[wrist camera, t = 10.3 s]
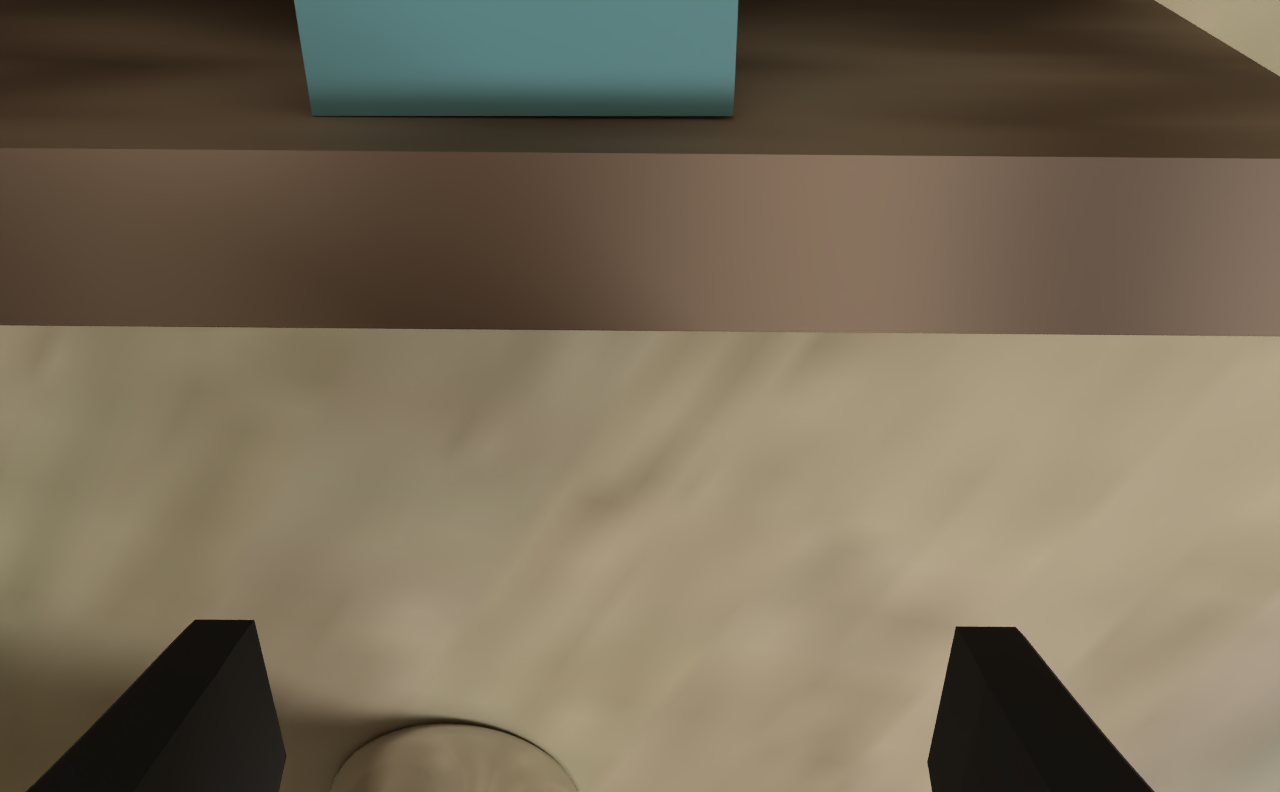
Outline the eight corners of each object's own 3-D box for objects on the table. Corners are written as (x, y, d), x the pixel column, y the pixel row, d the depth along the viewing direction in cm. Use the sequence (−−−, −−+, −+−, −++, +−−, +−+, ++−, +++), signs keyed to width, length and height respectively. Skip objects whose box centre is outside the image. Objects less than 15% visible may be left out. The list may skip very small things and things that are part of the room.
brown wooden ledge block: (3, 116, 18) (-311, 322, 12) (-103, -239, 16) (-569, -195, 10) (1118, 125, 18) (1348, 336, 12) (1203, -229, 15) (1549, -180, 10)
